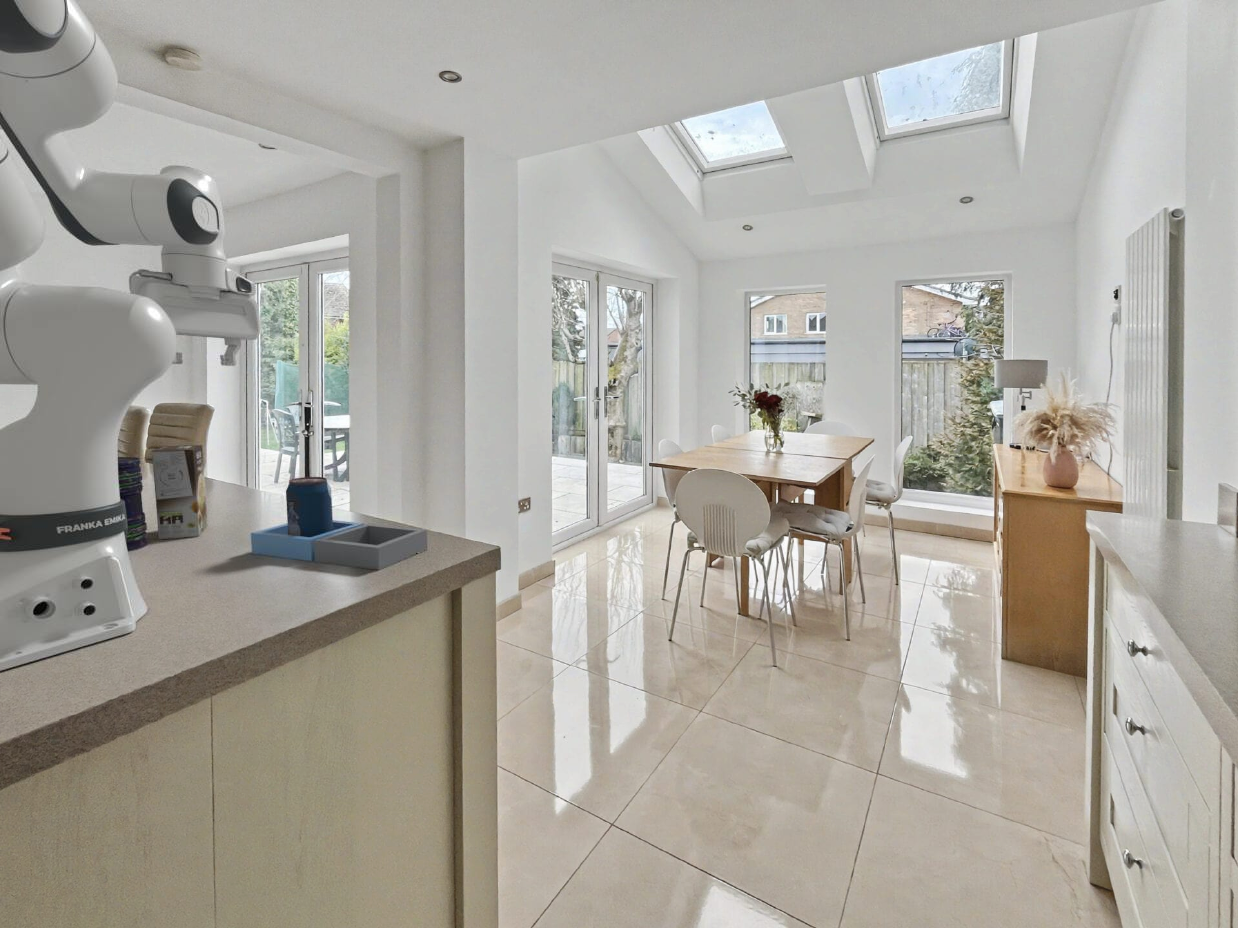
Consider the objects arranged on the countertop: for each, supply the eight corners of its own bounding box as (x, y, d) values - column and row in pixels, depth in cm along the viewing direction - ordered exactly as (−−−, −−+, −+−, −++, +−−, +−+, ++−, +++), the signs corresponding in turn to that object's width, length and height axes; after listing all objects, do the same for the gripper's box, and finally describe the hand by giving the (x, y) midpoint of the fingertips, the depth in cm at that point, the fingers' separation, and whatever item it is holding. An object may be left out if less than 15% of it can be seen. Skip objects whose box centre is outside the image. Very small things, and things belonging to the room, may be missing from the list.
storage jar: (62, 550, 104) (52, 461, 102) (130, 537, 113) (122, 455, 111) (91, 559, 100) (82, 466, 98) (160, 545, 108) (152, 459, 106)
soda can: (339, 542, 112) (336, 476, 110) (326, 553, 105) (323, 482, 103) (297, 543, 111) (294, 476, 109) (282, 554, 104) (278, 483, 103)
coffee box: (200, 536, 115) (193, 449, 112) (158, 540, 112) (150, 450, 110) (209, 525, 123) (202, 444, 121) (169, 528, 120) (162, 445, 118)
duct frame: (379, 569, 96) (378, 547, 96) (252, 553, 104) (250, 532, 104) (427, 549, 108) (426, 529, 108) (309, 536, 116) (308, 517, 116)
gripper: (143, 265, 90) (152, 362, 92) (264, 286, 110) (269, 366, 111) (113, 267, 92) (121, 362, 94) (236, 287, 112) (241, 366, 113)
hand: (202, 365), depth 103 cm, fingers open, 8 cm apart
